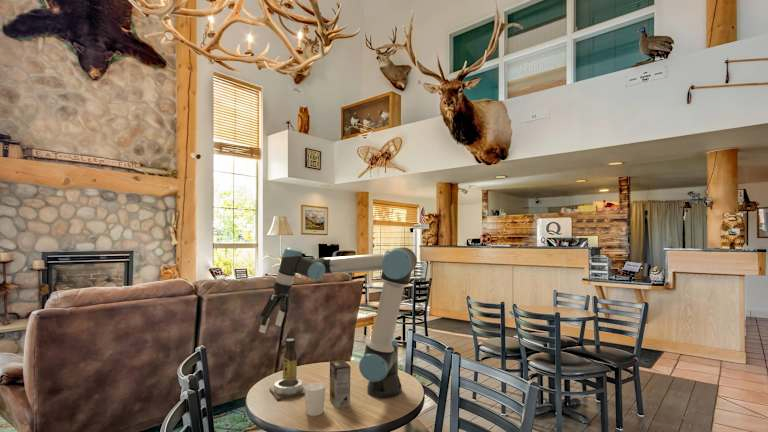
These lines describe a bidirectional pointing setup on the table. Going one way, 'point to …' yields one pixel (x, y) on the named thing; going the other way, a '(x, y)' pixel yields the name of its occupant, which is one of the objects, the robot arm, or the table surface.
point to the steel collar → (282, 388)
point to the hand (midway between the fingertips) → (270, 328)
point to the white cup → (314, 398)
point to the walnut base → (282, 397)
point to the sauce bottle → (290, 360)
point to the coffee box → (340, 383)
